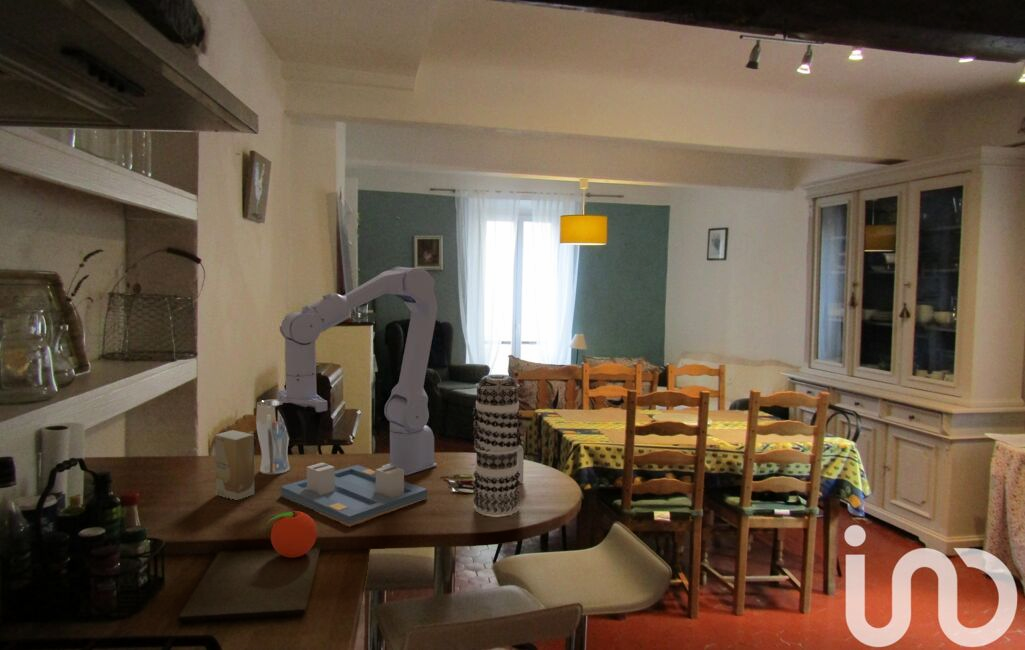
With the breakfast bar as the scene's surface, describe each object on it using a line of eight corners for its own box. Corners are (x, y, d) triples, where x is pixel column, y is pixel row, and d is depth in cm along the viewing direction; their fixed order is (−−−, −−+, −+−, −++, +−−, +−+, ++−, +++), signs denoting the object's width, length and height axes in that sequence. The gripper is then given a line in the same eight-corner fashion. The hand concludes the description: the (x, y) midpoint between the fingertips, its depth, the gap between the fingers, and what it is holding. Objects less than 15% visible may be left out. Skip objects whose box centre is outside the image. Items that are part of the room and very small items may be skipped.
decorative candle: (463, 513, 124) (463, 379, 121) (483, 496, 133) (484, 370, 130) (509, 521, 121) (511, 383, 118) (527, 503, 129) (529, 374, 126)
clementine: (260, 567, 102) (258, 522, 102) (268, 547, 109) (267, 505, 108) (314, 564, 104) (313, 519, 103) (319, 544, 111) (319, 502, 110)
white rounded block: (523, 487, 138) (524, 430, 137) (495, 487, 138) (496, 429, 137) (523, 480, 142) (523, 424, 141) (496, 479, 142) (496, 424, 141)
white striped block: (322, 486, 134) (322, 461, 133) (334, 490, 131) (334, 466, 131) (306, 490, 131) (306, 466, 131) (318, 495, 128) (318, 470, 128)
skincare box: (215, 495, 131) (212, 434, 130) (233, 489, 135) (231, 429, 134) (238, 502, 128) (236, 439, 127) (256, 494, 132) (254, 433, 131)
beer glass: (279, 463, 152) (277, 397, 150) (298, 469, 147) (297, 401, 146) (251, 471, 146) (249, 402, 144) (270, 477, 142) (268, 407, 140)
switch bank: (357, 473, 145) (357, 464, 145) (427, 499, 131) (427, 488, 131) (281, 496, 131) (280, 485, 131) (349, 527, 117) (349, 515, 117)
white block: (390, 488, 133) (390, 464, 132) (404, 493, 130) (403, 469, 130) (375, 493, 130) (375, 468, 129) (389, 498, 127) (389, 473, 127)
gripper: (262, 371, 134) (264, 438, 136) (303, 381, 125) (305, 453, 126) (294, 367, 139) (296, 431, 141) (336, 376, 130) (337, 445, 132)
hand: (302, 441), depth 134 cm, fingers open, 5 cm apart
